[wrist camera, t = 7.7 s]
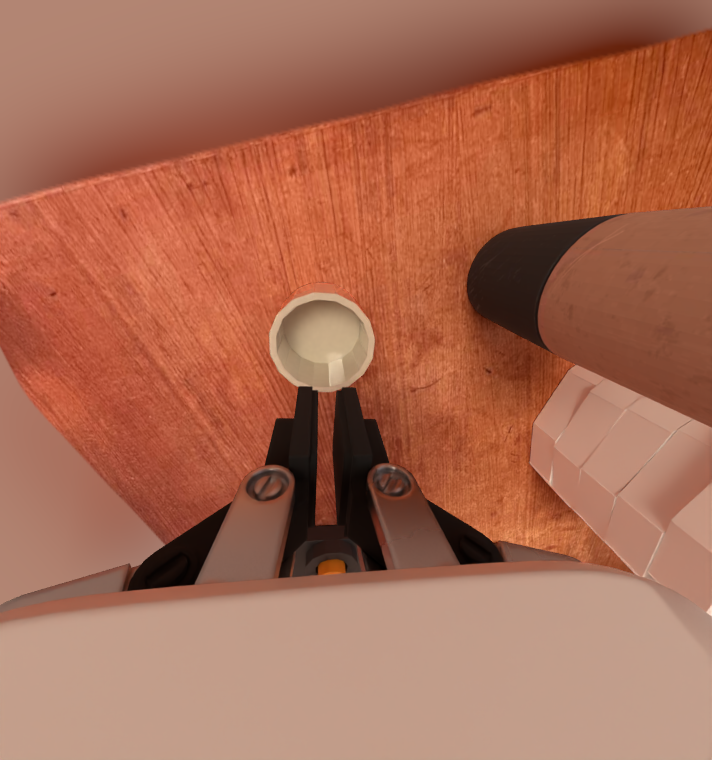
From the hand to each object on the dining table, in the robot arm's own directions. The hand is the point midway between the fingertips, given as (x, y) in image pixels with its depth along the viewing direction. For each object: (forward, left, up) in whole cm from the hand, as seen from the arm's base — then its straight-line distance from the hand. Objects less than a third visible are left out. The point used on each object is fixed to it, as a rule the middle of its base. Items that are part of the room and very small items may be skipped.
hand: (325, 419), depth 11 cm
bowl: (0, 0, -13) cm, 13 cm away
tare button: (+2, -28, -10) cm, 30 cm away
